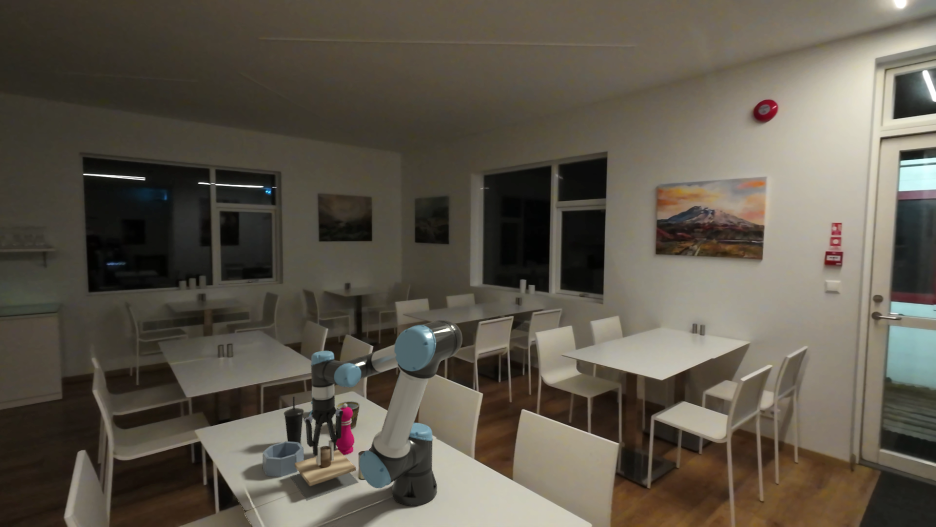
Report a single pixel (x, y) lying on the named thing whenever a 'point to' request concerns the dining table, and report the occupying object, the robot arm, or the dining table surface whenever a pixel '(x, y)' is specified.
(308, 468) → the lid
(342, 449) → the pepper mill
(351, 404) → the ceramic cup
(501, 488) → the dining table surface
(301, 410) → the drinking cup
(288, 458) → the bowl
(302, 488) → the mat
